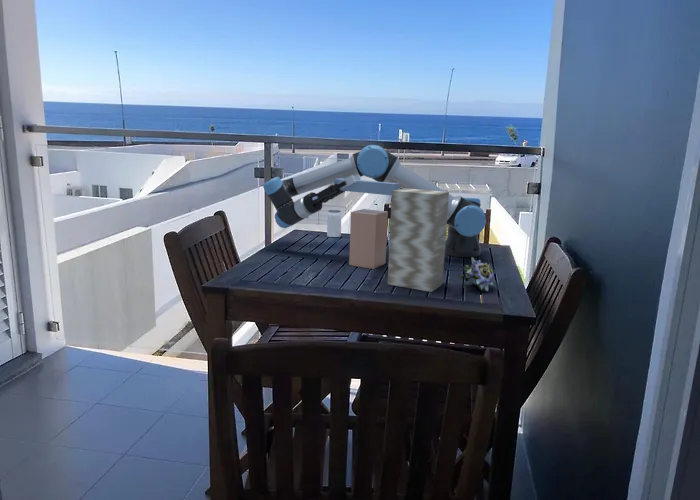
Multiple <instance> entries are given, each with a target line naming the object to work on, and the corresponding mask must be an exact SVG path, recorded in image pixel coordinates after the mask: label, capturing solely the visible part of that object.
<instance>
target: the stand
mask: <svg viewBox="0 0 700 500" xmlns="http://www.w3.org/2000/svg"><path fill="white" fill-rule="evenodd" d="M444 191H445V190H444ZM444 191H432V190H419V189H407V188H403V189H398V190H393V191H392V196H391V199H390V200H391V203H390V204H391V205H390V224H389V225H390V227H389V245H388V263H387V267H388V268H387V269H388V270H387V285H390V286H396V287H402V288H406V289H413V290H419V291H424V292H431V293H432V292H434V291H436V290H437V289H438V288H439V287H441V286H442V285H443V281H444V270H445V269H444V266H445V256H446V254H445V242H446V239H447V226H448V224H447V213H448V199H449V194H450V192H449V191H445V192H444Z"/></svg>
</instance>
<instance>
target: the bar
mask: <svg viewBox="0 0 700 500" xmlns="http://www.w3.org/2000/svg"><path fill="white" fill-rule="evenodd" d="M342 180H344V179H341V178H339V179H334V183H333V185H335V184H338V183H339V182H341V181H342ZM355 181H356V182H355V183H353V184H351V185H349V186H348V187H346V188H344V189H342V190H341V189H340V191H345V192H352V193H359V194H360V193H363V194H370V195H384V196H391V197H392V191H393V190H398V189H399V183H389V182H377V181H375V180H362V179H361V180H355Z"/></svg>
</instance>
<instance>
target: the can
mask: <svg viewBox="0 0 700 500" xmlns="http://www.w3.org/2000/svg"><path fill="white" fill-rule="evenodd" d="M326 215H327V216H326V218H327V219H326V236H327V237H328V238H330V237H339V238H341V236H342V212H341V210H339V209H338V210H337V209H329V210H328V212H327V213H326Z"/></svg>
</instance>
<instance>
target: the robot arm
mask: <svg viewBox="0 0 700 500" xmlns="http://www.w3.org/2000/svg"><path fill="white" fill-rule="evenodd" d="M399 158H400V157H397V156H396V155H394V154H393V153H391V152H389V151H388V150H387V149H385V148H384V147H383V146H381V145H379V144H369V145H366V146H364V147H363V148H362V149H361V150H360V151H357V152H355V153H352V154H351V156H350V157H348V158H345V159H342V160H340V161H336V162H333V163H330V164H328V165H325V166H321V167H318V168H317V169H313V170H310V171H307V172H304V173H302V174H299V175H296V176H295V175H294V176H292V177H289V178H287V179H283V180H282V179H281V177H279V176H276V177H273V178H272V179H270V180H268V181H266V182H265V183H263V186H262V187H263V190H264V191H265V194H266V196H267V198H268V199H269V200H270V202H271V203H272V205H273V206H274V208H275V210H276V213H274V219H275V223H276V225H278V227H280V228H281V229H287V228H289V227H293V226H294V225H296V224H297V223H300V222H301V221H303V220H304V219H309V217H310V216H312V215H313V214H316V213H317V212H319V211H321V210H322V208H323V203H324V204H325V203H328V202H329V201H330V200H333V199H335V198H336V197H338V196H339V195H341V194H343V193H345V192H346V191H340V189H341V190H342V189H344V188H346V187H348V186H349V185H351V184H353V183H355V182H356V181H355V180H362V177H365V178H366V177H367V178H369V179H372V180H373V181H377V182H389V183H399V188H400V187H405V188H407V189H419V190H432V191H444V192H446V190H444V189H442V188H440V187H439V186H437V185H435V184H433V183H432V182H431V181H429V180H428V179H426V178H425V177H422V176H420V175H419V174H417V173H416V172H415V171H413V170H411V169H409V168H408V167H406V166H405V165H403V164H401V163H400V159H399ZM339 178H341V179H344V180H342V181H341V182H339V183H338V184H335V185H334V179H339ZM326 186H328V187H326ZM323 187H326V188H324V189H323V190H320V191H318V192H317V193H316V192H310V191H315V190H316V189H320V188H323ZM308 192H310V193H308ZM305 193H308V194H306V195H304V196H302V197H300V198H299V199H297V200H295V201H294V200H293V197H296V196H298V195H299V196H300V195H302V194H305ZM486 224H487V217H486V213H485V211H484V210H483V209H482V208H481V199H480V198H475V197H462V196H461V195H458V196H457V195H456V196H453V195H452V194H450V193H449V199H448V213H447V226H448V235H447V236H446V241H445V255H447V256H449V257H456V258H477V257H480V256H481V253H482V252H481V251H482V249H481V245H480V241H479V237H478V236H479V234H480V233H482V231H483V230H484V228H485V227H486Z"/></svg>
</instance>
